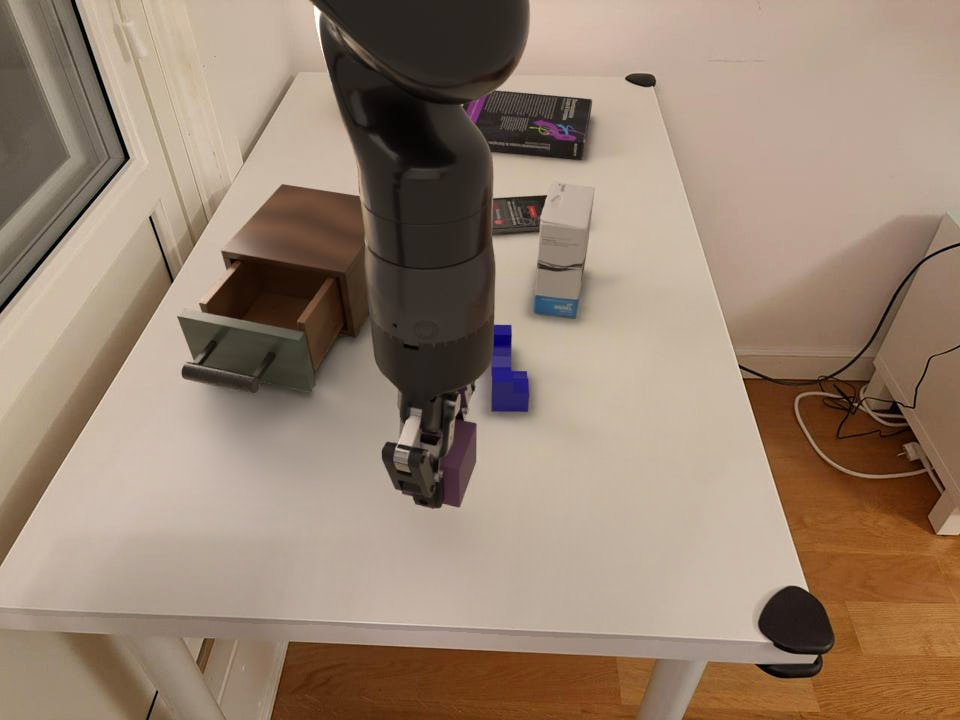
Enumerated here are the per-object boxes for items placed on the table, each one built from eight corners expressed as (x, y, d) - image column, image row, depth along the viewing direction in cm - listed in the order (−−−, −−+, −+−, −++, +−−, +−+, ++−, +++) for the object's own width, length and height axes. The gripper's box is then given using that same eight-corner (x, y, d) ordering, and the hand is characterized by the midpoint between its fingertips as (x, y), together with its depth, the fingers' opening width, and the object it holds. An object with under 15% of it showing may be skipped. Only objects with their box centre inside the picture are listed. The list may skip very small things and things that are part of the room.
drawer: (288, 429, 66) (274, 377, 62) (168, 402, 69) (146, 350, 64) (360, 312, 78) (353, 260, 74) (256, 292, 81) (243, 241, 76)
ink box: (577, 320, 79) (588, 228, 71) (531, 314, 79) (538, 222, 71) (584, 274, 85) (596, 184, 77) (542, 268, 85) (549, 179, 77)
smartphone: (584, 223, 91) (465, 231, 90) (583, 228, 91) (465, 236, 90) (572, 193, 96) (459, 200, 95) (571, 198, 97) (459, 204, 95)
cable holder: (528, 411, 69) (530, 382, 66) (491, 411, 69) (491, 382, 66) (524, 354, 75) (526, 324, 72) (490, 353, 75) (491, 324, 72)
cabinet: (355, 338, 77) (345, 272, 71) (239, 315, 79) (220, 250, 73) (399, 264, 86) (394, 200, 80) (295, 246, 89) (281, 183, 83)
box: (451, 151, 107) (583, 161, 104) (449, 128, 104) (585, 139, 101) (470, 109, 117) (592, 117, 114) (469, 87, 114) (594, 95, 111)
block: (459, 508, 53) (459, 470, 50) (401, 494, 54) (397, 455, 51) (476, 461, 56) (476, 422, 53) (421, 449, 57) (418, 410, 54)
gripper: (412, 223, 49) (423, 399, 60) (322, 364, 39) (356, 543, 50) (520, 241, 47) (510, 418, 59) (457, 393, 37) (460, 569, 49)
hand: (439, 475), depth 55 cm, fingers closed on block, 4 cm apart
